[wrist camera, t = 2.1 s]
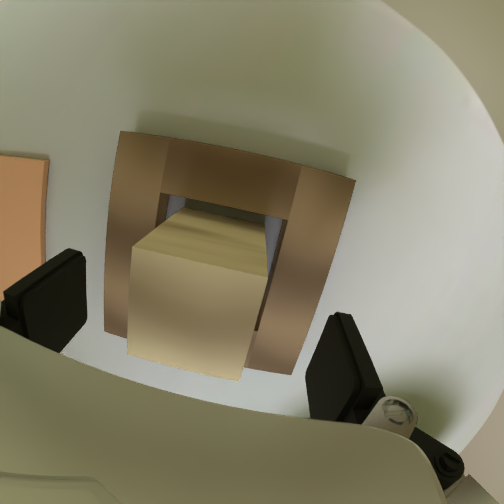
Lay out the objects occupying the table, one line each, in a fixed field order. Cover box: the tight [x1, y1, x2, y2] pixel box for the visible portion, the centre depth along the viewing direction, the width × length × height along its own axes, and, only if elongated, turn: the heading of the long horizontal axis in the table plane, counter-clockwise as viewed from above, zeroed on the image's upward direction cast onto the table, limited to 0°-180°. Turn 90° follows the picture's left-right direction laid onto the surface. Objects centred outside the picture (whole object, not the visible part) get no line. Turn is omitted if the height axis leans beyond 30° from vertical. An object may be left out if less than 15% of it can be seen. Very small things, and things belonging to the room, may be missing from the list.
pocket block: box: [104, 131, 356, 375], centre depth 18 cm, size 13×13×2 cm
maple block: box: [127, 207, 268, 381], centre depth 15 cm, size 5×5×8 cm
